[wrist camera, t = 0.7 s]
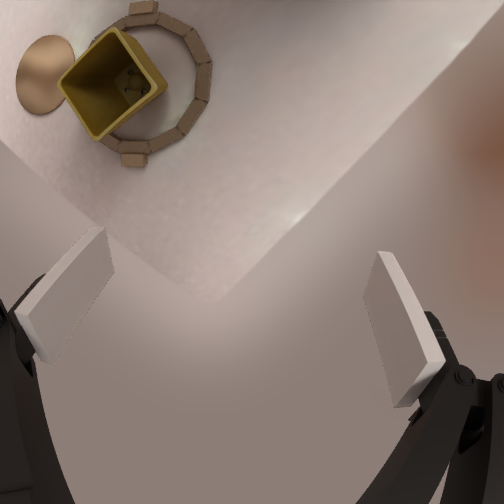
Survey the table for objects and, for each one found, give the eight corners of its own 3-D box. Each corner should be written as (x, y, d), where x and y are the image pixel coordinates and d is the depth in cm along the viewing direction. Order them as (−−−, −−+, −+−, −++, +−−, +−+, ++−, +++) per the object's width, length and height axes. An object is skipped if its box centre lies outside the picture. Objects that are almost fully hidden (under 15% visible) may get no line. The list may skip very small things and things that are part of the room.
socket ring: (86, 15, 25) (79, 14, 23) (220, 0, 25) (217, -4, 23) (81, 162, 36) (75, 165, 34) (204, 167, 36) (201, 171, 34)
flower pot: (186, 88, 31) (158, 89, 23) (131, 129, 33) (94, 144, 26) (149, 35, 27) (113, 24, 19) (97, 79, 30) (54, 83, 22)
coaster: (20, 45, 26) (18, 45, 25) (78, 27, 26) (76, 27, 25) (18, 117, 32) (15, 118, 31) (73, 109, 32) (71, 110, 31)
